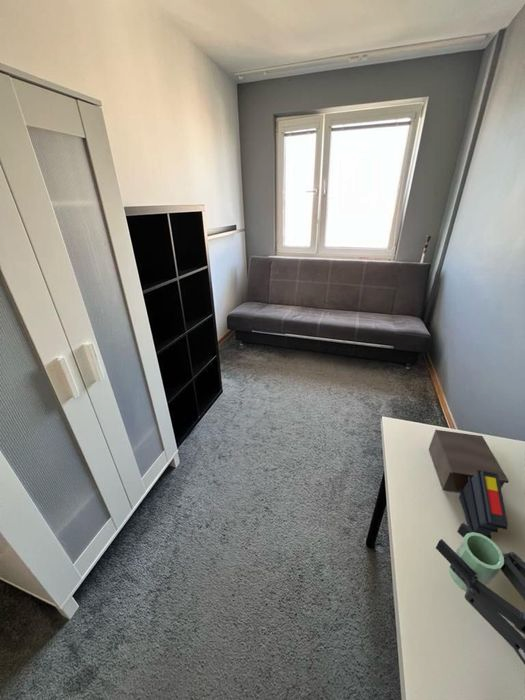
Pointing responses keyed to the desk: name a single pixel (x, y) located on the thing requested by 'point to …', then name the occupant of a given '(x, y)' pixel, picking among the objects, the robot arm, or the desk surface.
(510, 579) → the robot arm
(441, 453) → the case
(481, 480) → the black layered block
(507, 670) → the desk surface
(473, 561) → the pencil cup
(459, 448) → the cover
